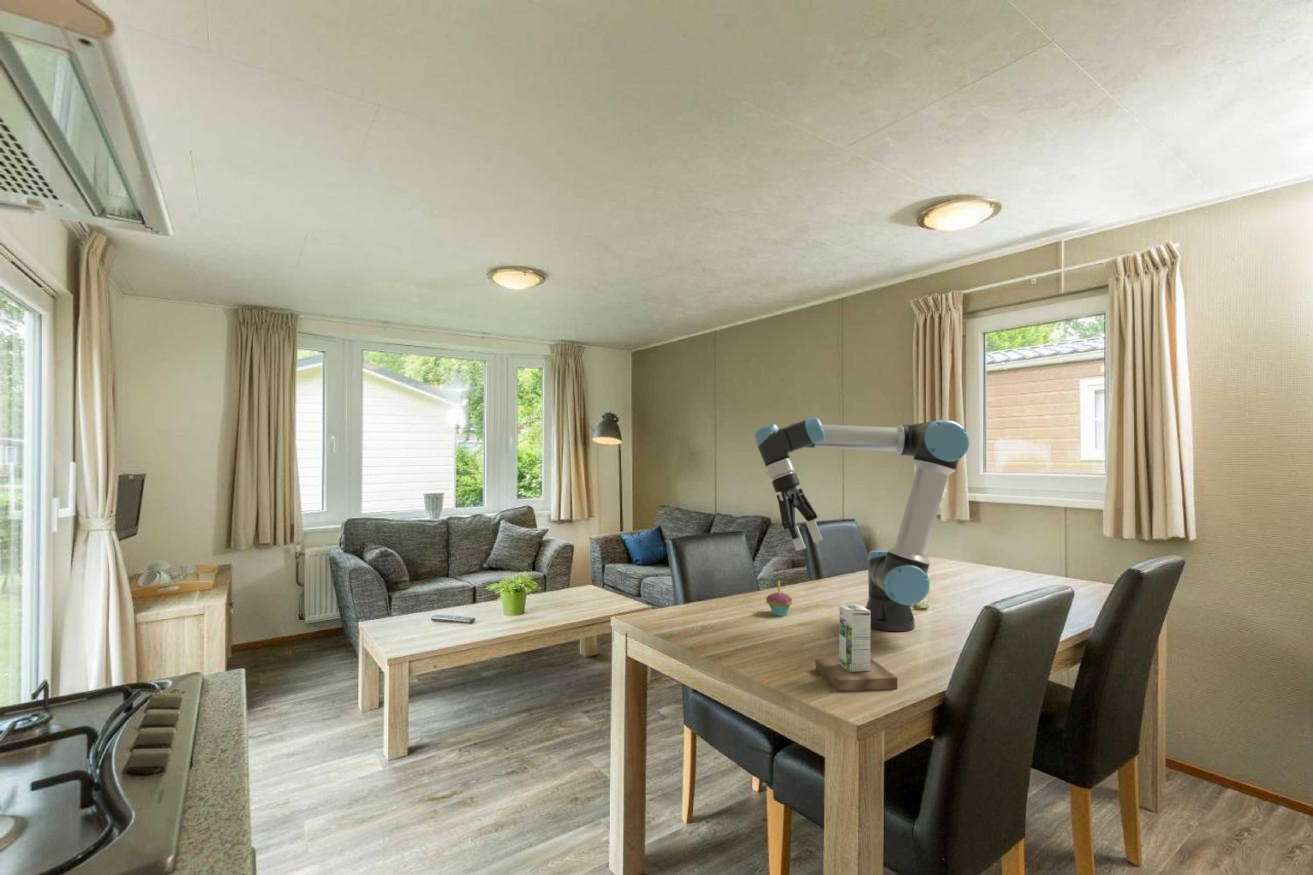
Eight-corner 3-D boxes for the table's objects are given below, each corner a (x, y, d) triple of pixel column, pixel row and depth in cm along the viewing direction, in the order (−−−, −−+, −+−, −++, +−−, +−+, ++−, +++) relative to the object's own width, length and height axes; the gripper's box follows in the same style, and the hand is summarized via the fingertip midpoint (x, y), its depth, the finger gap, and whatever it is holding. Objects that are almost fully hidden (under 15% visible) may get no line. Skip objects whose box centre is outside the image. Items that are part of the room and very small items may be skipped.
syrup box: (838, 663, 147) (837, 604, 148) (861, 663, 148) (861, 603, 148) (847, 672, 142) (847, 610, 142) (871, 671, 142) (871, 609, 142)
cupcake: (792, 618, 196) (792, 581, 196) (765, 616, 198) (765, 580, 198) (791, 611, 204) (791, 575, 205) (766, 610, 206) (766, 574, 206)
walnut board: (868, 666, 152) (868, 656, 152) (897, 688, 138) (897, 677, 138) (815, 669, 151) (815, 659, 151) (838, 691, 137) (838, 680, 137)
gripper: (788, 477, 190) (814, 542, 186) (753, 484, 170) (781, 557, 165) (810, 468, 186) (836, 534, 182) (776, 474, 166) (805, 549, 161)
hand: (810, 545), depth 174 cm, fingers open, 13 cm apart
